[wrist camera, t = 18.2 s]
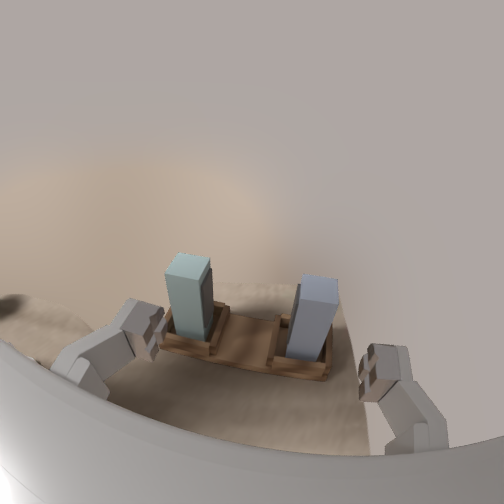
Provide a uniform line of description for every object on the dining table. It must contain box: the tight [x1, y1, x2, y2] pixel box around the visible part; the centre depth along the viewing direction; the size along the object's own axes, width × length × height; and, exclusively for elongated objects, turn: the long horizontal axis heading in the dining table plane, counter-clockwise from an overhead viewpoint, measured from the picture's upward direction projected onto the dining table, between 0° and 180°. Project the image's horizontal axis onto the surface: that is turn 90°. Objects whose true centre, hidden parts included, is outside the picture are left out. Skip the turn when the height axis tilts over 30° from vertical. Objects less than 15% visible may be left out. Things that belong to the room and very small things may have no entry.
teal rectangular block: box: [165, 252, 214, 342], centre depth 43 cm, size 5×5×14 cm
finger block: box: [285, 274, 339, 362], centre depth 41 cm, size 5×5×14 cm
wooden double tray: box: [159, 301, 332, 382], centre depth 46 cm, size 28×10×4 cm, turn 79°
